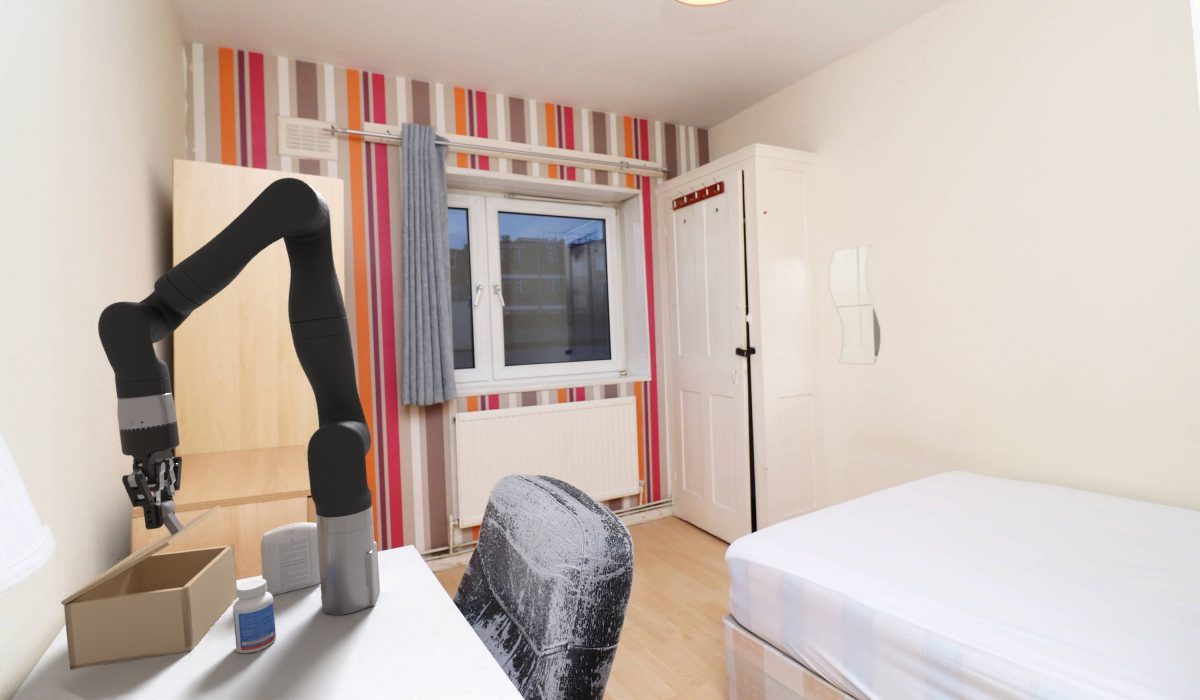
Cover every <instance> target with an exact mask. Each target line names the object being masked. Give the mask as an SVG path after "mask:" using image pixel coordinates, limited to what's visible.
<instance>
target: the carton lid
mask: <svg viewBox="0 0 1200 700" xmlns="http://www.w3.org/2000/svg"><path fill="white" fill-rule="evenodd" d="M160 505H161V510H162V518H163V525H164V526H165V528H166V529H167V530H168V533H167V534H165V535H163V536H161V537H159V538H158V539H156V540H154V541H152V542H150V543H149V544H147V545H145V546H144V547H141V548H140V549H138V550H137V551H134V552H132V553H131V554H130V555H128V556H127V557H125V558H124V559H122V560H121V561H119V562H117V563H116V564H115V565H113V566H111V567H110V568H109V569H108V570H106V571H104V572H103V573H101V574H100V575H99V576H97V577H95V578H94V579H92V580H91V581H89V582H88V583H87V584H85V585H84V586H82V587H81V588H80V589H78V590H76V591H75V592H73V593H72V594H70V595H68V596H67V597H66V598H65V599H62V601H61V600H60V603H61V605H62V606H64V604H66V603H68V602H70V601H71V600H73V599H75V598H77V597H79V596H80V595H82V594H84V593H86V592H87V591H89V590H91V589H93V588H94V587H96V586H98V585H100V584H102V583H103V582H105V581H107V580H109V579H110V578H112V577H114V576H116V575H117V574H119V573H121V572H123V571H125V570H126V569H128V568H130V567H132V566H133V565H135V564H137V563H139V562H140V561H142V560H144V559H146V558H148V557H149V556H151V555H153V554H157V553H158V552H160V551H162V550H163V549H165V548H166V547H169V546H170V545H172V544H173V543H174V542H176V541H177V540H179V539H180V538H181V537H183V536H184V535H185V534H187V533H189V532H190V531H191V530H192V529H194V528H195V527H197V525H199V524H200V523H202V522H203V521H205V520H206V519H208V518H209V517H210V516H211V515H213V514H214V513H216V512H217V511H218V510H219V509H221V506H220V505H216V506H215V507H213V508H211V509H209V510H207V511H206V512H204V513H203V514H200V515H199V516H197V517H195V518H194V519H192V520H190V521H188V522H186V523H184V524H183V525H182V523H181V522H180V521H179V519H178V518H177V516H176V514H175V515H174V513H173V512H174V511H176V507H177V506H176V503H175V502H174V500H173V501H171V500H165V501H163V502H161V503H160Z"/></svg>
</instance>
